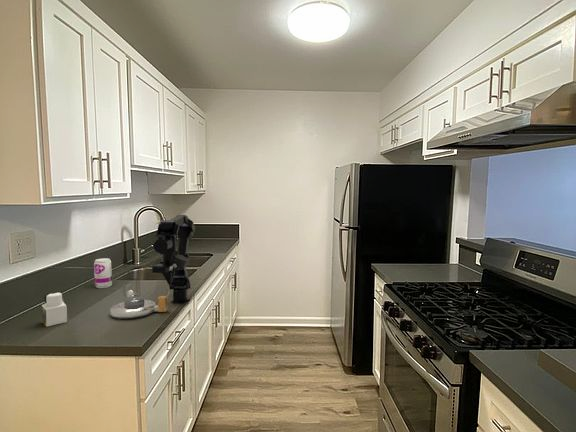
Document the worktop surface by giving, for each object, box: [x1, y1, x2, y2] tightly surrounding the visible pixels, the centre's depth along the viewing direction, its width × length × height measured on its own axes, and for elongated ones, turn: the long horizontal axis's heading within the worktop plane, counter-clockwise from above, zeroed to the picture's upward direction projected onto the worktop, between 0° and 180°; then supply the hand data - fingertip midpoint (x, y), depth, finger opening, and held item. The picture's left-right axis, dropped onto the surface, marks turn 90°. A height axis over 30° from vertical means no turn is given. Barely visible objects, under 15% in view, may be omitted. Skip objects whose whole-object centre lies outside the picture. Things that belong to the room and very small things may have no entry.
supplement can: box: [93, 257, 113, 289], centre depth 190 cm, size 8×8×15 cm
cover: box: [123, 296, 145, 309], centre depth 151 cm, size 8×8×4 cm
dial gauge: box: [126, 289, 139, 298], centre depth 164 cm, size 4×4×6 cm
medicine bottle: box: [41, 291, 68, 328], centre depth 140 cm, size 7×7×12 cm
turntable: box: [109, 295, 168, 319], centre depth 151 cm, size 23×18×6 cm
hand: (170, 284), depth 152 cm, fingers closed
